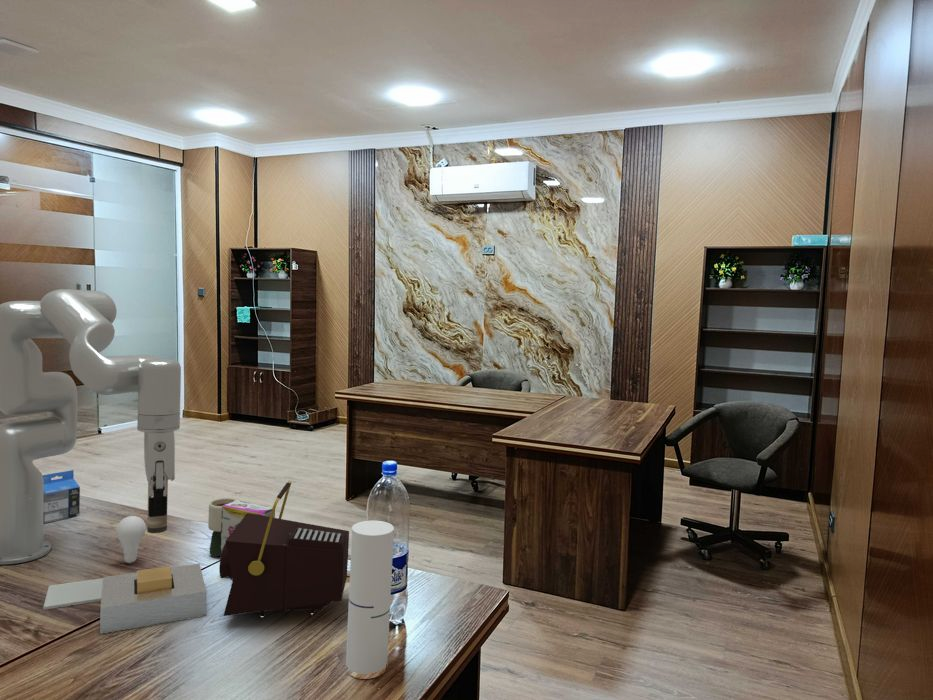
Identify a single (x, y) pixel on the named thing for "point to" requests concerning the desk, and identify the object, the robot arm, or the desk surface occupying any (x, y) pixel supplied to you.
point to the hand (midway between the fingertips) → (157, 511)
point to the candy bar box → (239, 516)
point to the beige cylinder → (157, 522)
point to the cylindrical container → (369, 596)
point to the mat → (73, 593)
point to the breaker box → (151, 600)
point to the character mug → (216, 523)
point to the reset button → (154, 580)
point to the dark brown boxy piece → (283, 564)
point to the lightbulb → (130, 536)
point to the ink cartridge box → (60, 497)
